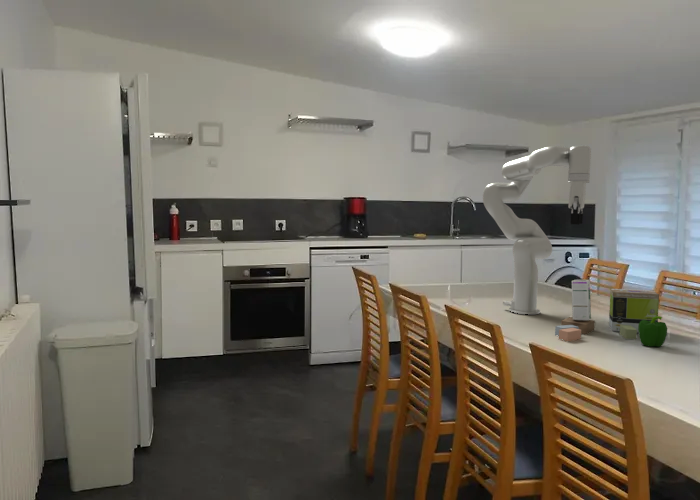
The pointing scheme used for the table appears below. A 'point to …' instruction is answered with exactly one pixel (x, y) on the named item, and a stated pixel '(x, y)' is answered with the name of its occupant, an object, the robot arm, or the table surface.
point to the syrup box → (581, 300)
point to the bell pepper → (652, 332)
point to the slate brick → (563, 328)
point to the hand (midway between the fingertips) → (576, 223)
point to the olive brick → (628, 332)
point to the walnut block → (580, 324)
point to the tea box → (632, 307)
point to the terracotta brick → (570, 334)
